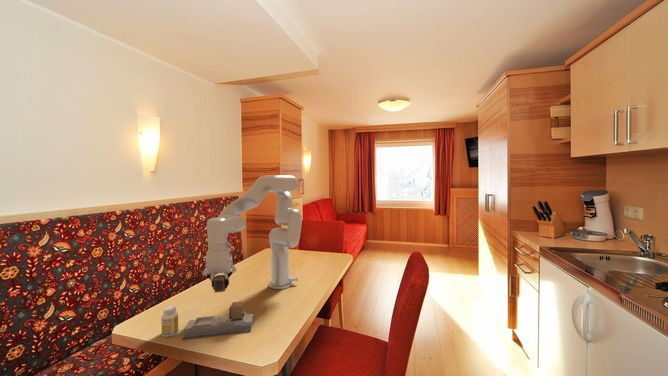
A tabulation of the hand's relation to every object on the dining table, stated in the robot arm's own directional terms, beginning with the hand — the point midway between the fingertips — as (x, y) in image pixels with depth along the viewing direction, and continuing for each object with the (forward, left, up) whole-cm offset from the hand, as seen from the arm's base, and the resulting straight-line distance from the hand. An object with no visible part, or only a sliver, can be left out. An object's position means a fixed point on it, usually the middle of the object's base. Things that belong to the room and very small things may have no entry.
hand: (220, 287), depth 113 cm
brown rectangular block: (0, 0, -1) cm, 1 cm away
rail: (-2, +12, -11) cm, 17 cm away
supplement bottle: (+16, +12, -12) cm, 23 cm away
